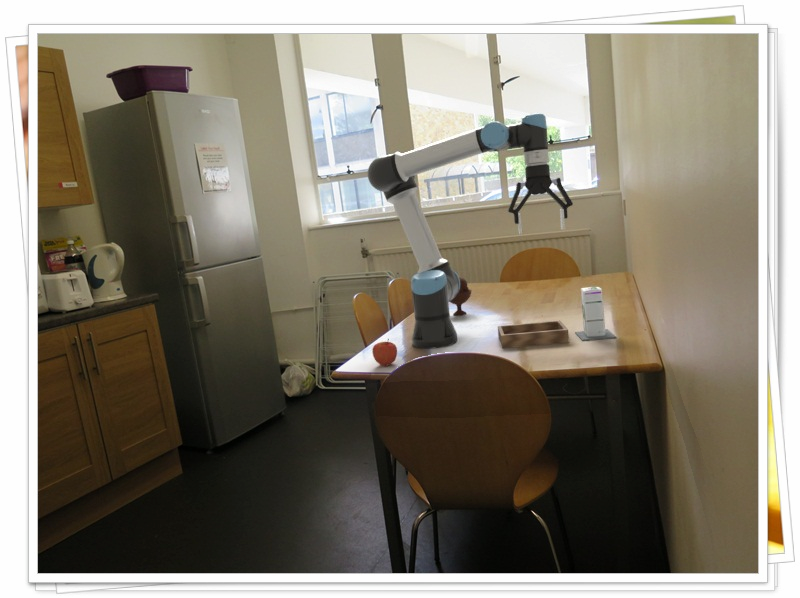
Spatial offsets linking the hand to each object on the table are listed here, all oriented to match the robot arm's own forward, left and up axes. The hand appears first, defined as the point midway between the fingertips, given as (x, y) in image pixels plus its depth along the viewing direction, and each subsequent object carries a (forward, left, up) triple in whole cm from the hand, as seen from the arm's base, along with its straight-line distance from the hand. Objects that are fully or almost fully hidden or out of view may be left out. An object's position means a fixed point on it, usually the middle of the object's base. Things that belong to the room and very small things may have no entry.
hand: (541, 231), depth 185 cm
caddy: (-7, -12, -33) cm, 36 cm away
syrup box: (+12, -13, -32) cm, 37 cm away
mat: (+12, -13, -33) cm, 37 cm away
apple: (-52, -26, -33) cm, 67 cm away
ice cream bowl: (-29, +38, -33) cm, 58 cm away
